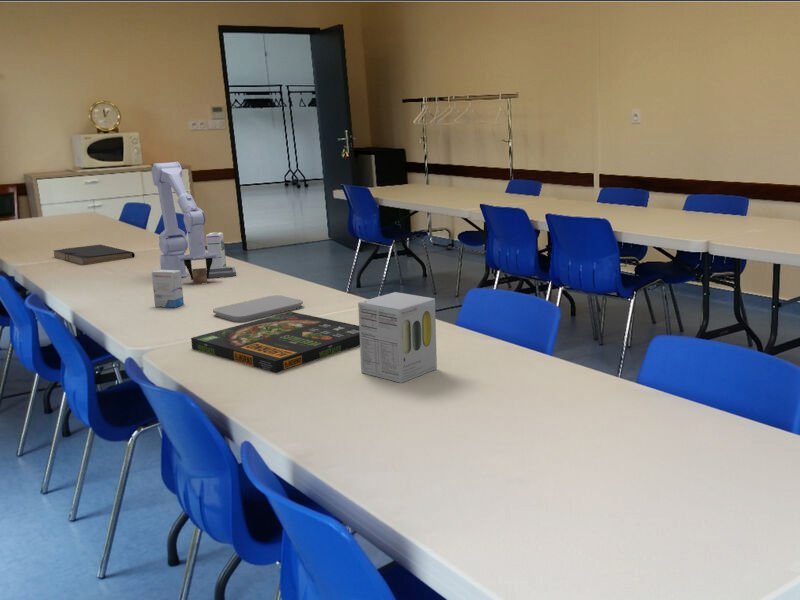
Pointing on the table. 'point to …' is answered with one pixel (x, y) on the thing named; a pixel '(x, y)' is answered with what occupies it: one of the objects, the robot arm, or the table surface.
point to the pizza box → (280, 341)
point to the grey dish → (222, 272)
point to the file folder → (92, 254)
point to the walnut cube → (199, 276)
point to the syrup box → (216, 249)
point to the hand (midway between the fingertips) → (200, 278)
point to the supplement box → (397, 336)
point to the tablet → (257, 308)
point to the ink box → (167, 288)
